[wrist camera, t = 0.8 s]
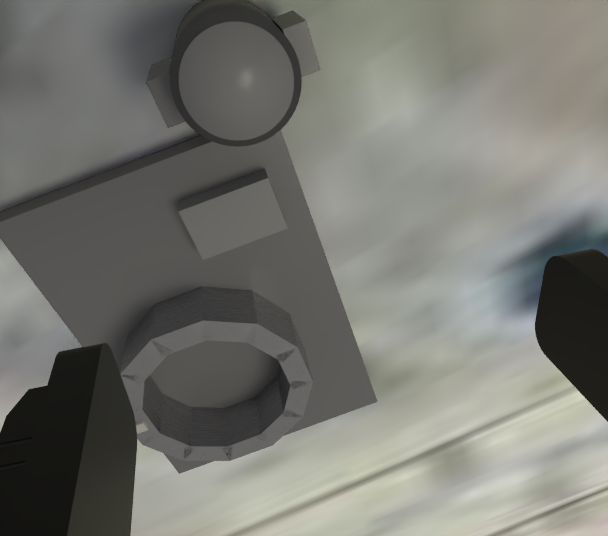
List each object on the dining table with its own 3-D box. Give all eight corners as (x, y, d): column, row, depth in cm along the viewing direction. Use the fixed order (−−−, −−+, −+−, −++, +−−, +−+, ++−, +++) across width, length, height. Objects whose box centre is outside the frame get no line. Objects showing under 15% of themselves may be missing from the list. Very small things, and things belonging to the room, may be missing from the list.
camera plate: (272, 108, 25) (279, 125, 23) (371, 385, 36) (382, 415, 34) (0, 211, 26) (-19, 237, 23) (179, 455, 37) (178, 489, 34)
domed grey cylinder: (276, -29, 22) (300, -19, 17) (308, 78, 25) (338, 114, 20) (139, 24, 23) (122, 50, 17) (185, 125, 25) (183, 173, 20)
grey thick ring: (267, 262, 28) (274, 296, 25) (321, 387, 33) (332, 426, 31) (90, 327, 28) (79, 368, 25) (173, 441, 34) (171, 484, 31)
